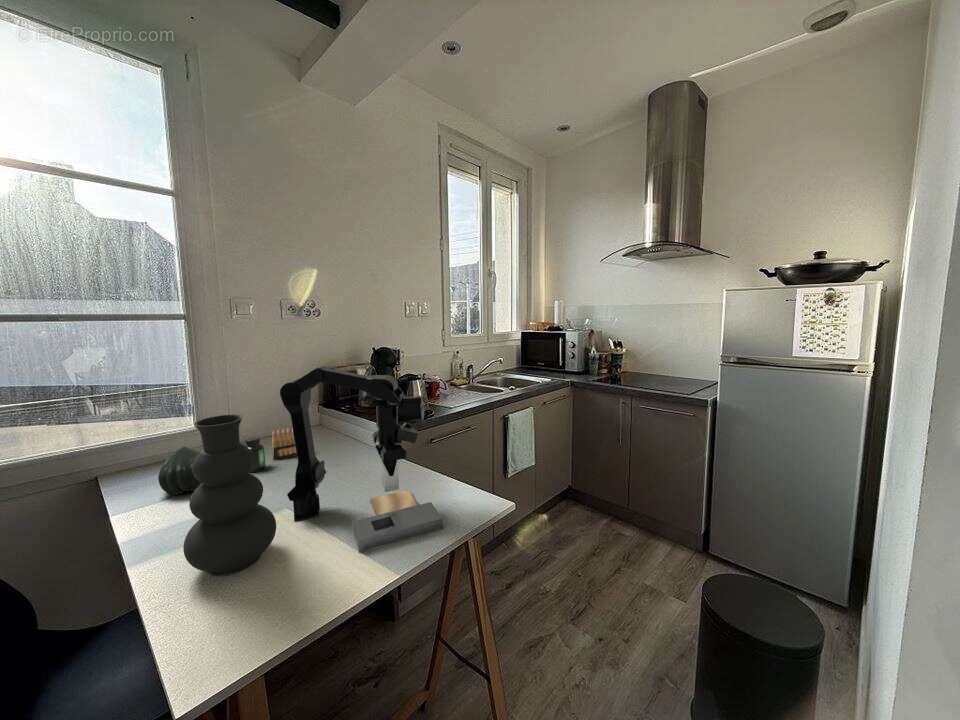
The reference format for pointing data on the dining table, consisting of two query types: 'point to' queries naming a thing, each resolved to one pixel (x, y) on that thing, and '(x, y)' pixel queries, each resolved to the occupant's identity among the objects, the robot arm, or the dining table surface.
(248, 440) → the supplement bottle
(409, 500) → the oak pad
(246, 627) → the dining table surface
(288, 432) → the ammunition clip
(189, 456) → the squash
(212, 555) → the vase
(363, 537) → the rail
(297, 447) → the robot arm
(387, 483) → the brushed metal block
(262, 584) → the dining table surface
